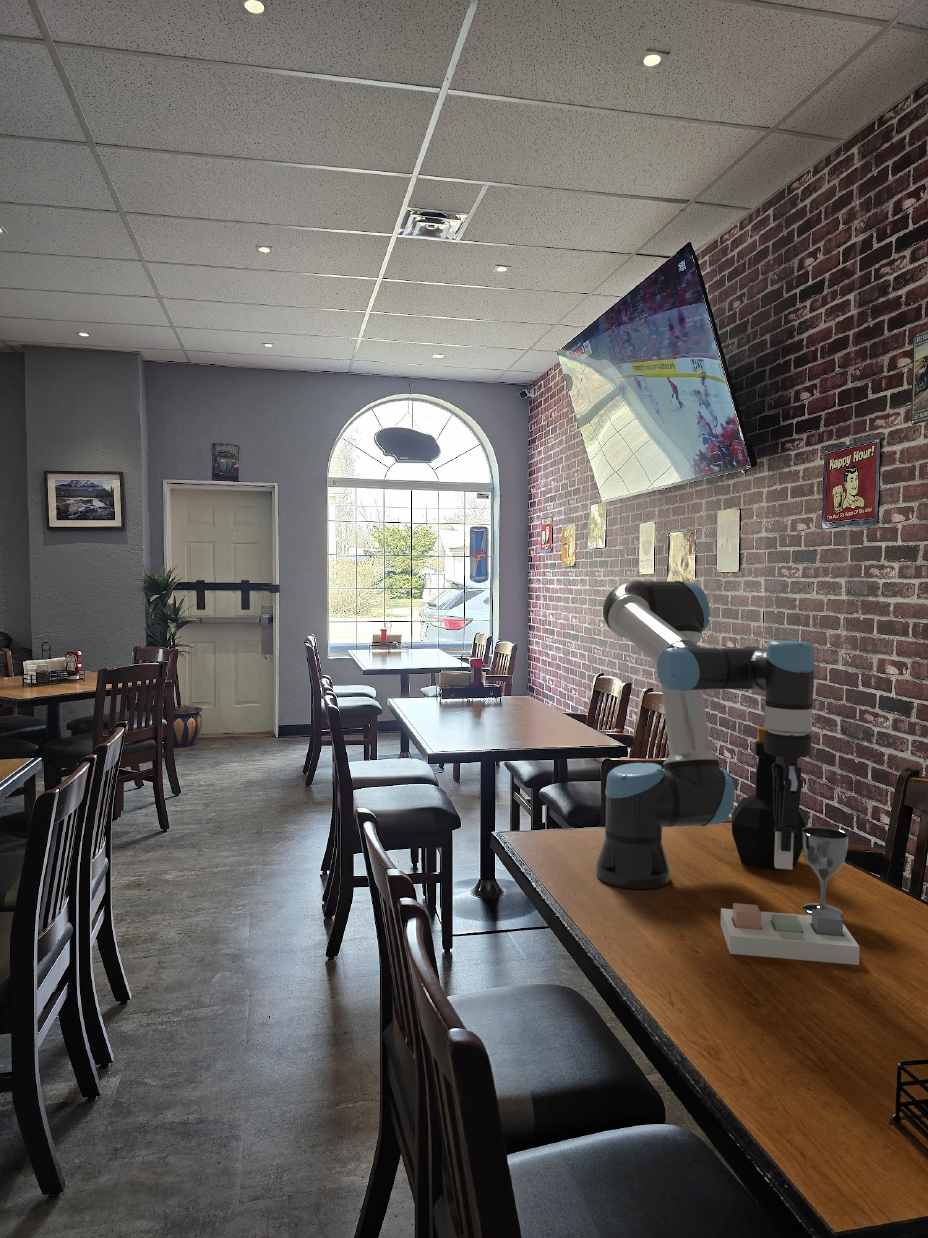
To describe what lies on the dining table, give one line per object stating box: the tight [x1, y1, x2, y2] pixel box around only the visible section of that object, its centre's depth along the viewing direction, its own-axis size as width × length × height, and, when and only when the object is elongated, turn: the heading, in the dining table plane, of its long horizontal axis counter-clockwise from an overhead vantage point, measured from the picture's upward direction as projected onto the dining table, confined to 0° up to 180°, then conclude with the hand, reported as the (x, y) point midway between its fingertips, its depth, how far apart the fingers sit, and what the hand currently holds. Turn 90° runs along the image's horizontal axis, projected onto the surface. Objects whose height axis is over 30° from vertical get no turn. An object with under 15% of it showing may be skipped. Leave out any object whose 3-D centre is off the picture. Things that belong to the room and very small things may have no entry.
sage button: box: [772, 914, 802, 933], centre depth 139 cm, size 4×4×3 cm
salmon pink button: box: [732, 902, 762, 930], centre depth 140 cm, size 4×4×3 cm
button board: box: [720, 908, 860, 966], centre depth 139 cm, size 20×12×3 cm, turn 80°
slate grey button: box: [811, 909, 844, 936], centre depth 138 cm, size 4×4×3 cm
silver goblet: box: [802, 825, 849, 918], centre depth 154 cm, size 8×8×15 cm
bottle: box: [730, 726, 808, 871], centre depth 182 cm, size 16×16×30 cm
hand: (783, 867), depth 140 cm, fingers closed
